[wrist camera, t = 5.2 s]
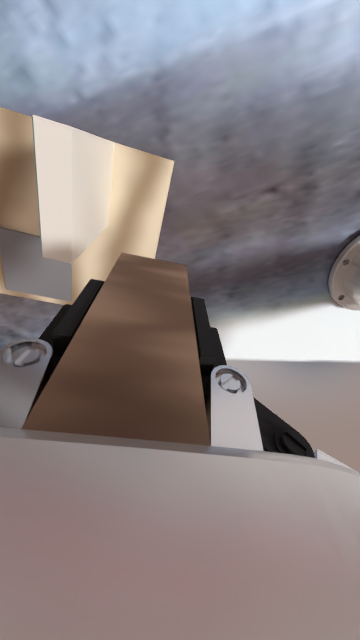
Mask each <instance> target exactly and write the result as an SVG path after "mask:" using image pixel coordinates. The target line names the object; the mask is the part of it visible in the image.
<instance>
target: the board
mask: <svg viewBox="0 0 360 640" xmlns="http://www.w3.org/2000/svg"><path fill="white" fill-rule="evenodd" d="M173 165H174V161H172V160H169V159H165V158H162V157H159V156H156V155H153V154H149V153H146V152H143V151H140V150H136V149H133V148H130V147H127V146H124V145H120V144H117V143H114V155H113V168H112V180H111V192H110V204H109V217H108V227H107V228H106V229H105V230H104V231H103V232H102V233H101V234H100V235H99V236H98V237H97V238H96V239H95V240H94V241H93V242H92V243H91V244H90V245H89V246H88V247H87V248H86V249H85V250H84V251H83V252H82V253H81V254H80V256H79V257H78V258H77V259H76V260H75V261H74V262H73V263H72V300H71V302H69V301H64V300H59V299H54V298H48V297H43V296H38V295H33V294H27V293H22V292H17V291H12V290H7V289H6V283H5V277H4V271H3V265H2V259H1V253H0V293H3V294H8V295H14V296H19V297H24V298H30V299H35V300H40V301H46V302H51V303H56V304H62V305H65V304H70V305H72V304H73V303H74V302H75V300H76V299H77V297H78V296H79V294H80V293H81V292H82V290H83V289H84V287H85V286H86V285H87V283H88V282H89V280H90V279H95V280H101V281H104V282H105V281H106V279H107V277H108V275H109V274H110V272H111V270H112V268H113V267H114V265H115V263H116V261H117V259H118V258H119V256H120V254H121V252H122V253H127V254H132V255H137V256H142V257H148V258H153V259H155V254H156V249H157V244H158V239H159V234H160V229H161V224H162V219H163V214H164V209H165V204H166V200H167V195H168V190H169V185H170V180H171V175H172V170H173ZM0 227H3V228H7V229H11V230H16V231H20V232H24V233H29V234H33V235H37V236H40V224H39V210H38V196H37V182H36V168H35V154H34V140H33V126H32V117H31V116H27V115H24V114H21V113H18V112H15V111H11V110H8V109H5V108H2V107H0Z"/></svg>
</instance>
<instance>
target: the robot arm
mask: <svg viewBox="0 0 360 640" xmlns="http://www.w3.org/2000/svg"><path fill="white" fill-rule="evenodd" d="M103 284H104V281H101V280H95V279H90V280H89V282H88V283H87V285H86V286H85V287H84V289H83V290H82V292H81V293H80V294H79V296H78V297H77V299H76V300H75V302H74V303H73V304H72V305H70V304H65V305H64V306H63V307H62V309H61V310H60V311H59V313H58V314H57V315H56V316H55V318H54V319H53V320H52V322H51V323H50V324H49V326H48V327H47V328H46V330H45V331H44V332H43V333H42V335H41V336H40V337H39V339H34V338H33V339H22V340H17V341H15V342H12V343H10V344H8V345H6V346H5V347H3V348H2V349H1V350H0V640H360V473H359V472H357V471H355V470H353V469H352V468H350V467H348V466H346V465H345V464H343V463H341V462H339V461H338V460H336V459H334V458H332V457H331V456H329V455H327V454H325V453H324V452H322V451H320V450H318V449H317V450H316V451H313V450H312V448H311V446H310V444H309V443H308V442H307V440H306V439H305V438H304V437H303V436H302V435H301V434H300V433H299V432H297V431H296V430H295V429H294V428H292V427H291V426H290V425H288V424H287V423H286V422H284V421H283V420H281V418H279V417H278V416H277V415H275V414H274V413H272V411H270V410H269V409H268V408H266V407H265V406H264V405H262V404H261V403H260V402H259V401H257V400H256V399H255V398H254V397H253V393H252V388H251V384H250V381H249V379H248V378H247V376H246V375H245V374H244V373H242V372H241V371H240V370H238V369H236V368H234V367H231V366H227V364H226V360H225V357H224V353H223V349H222V345H221V342H220V338H219V334H218V331H217V329H216V328H212V327H210V324H209V320H208V316H207V311H206V307H205V302H204V299H201V298H195V297H191V305H192V312H193V320H194V327H195V335H196V342H197V350H198V357H199V365H200V372H201V379H202V387H203V394H204V402H205V409H206V417H207V424H208V432H209V439H210V446H207V445H196V444H185V443H175V442H164V441H152V440H141V439H130V438H119V437H107V436H96V435H84V434H73V433H61V432H49V431H37V430H25V429H21V428H22V426H23V425H24V423H25V421H26V419H27V418H28V416H29V414H30V412H31V411H32V409H33V407H34V405H35V404H36V402H37V400H38V398H39V397H40V395H41V393H42V391H43V390H44V388H45V386H46V384H47V383H48V381H49V379H50V377H51V375H52V374H53V372H54V370H55V368H56V367H57V365H58V363H59V361H60V360H61V358H62V356H63V354H64V353H65V351H66V349H67V347H68V346H69V344H70V342H71V340H72V339H73V337H74V335H75V333H76V332H77V330H78V328H79V326H80V325H81V323H82V321H83V319H84V317H85V316H86V314H87V312H88V310H89V309H90V307H91V305H92V303H93V302H94V300H95V298H96V296H97V295H98V293H99V291H100V289H101V288H102V286H103ZM328 286H329V292H330V294H331V296H332V298H333V299H334V300H335V301H336V302H337V303H338V304H340V305H341V306H342V307H344V308H346V309H350V310H360V235H359V236H358V237H356V238H355V239H354V240H353V241H352V242H351V243H349V244H348V245H347V247H346V248H345V249H344V250H343V251H342V252H341V253H340V255H339V256H338V258H337V259H336V261H335V263H334V265H333V267H332V269H331V272H330V275H329V282H328Z"/></svg>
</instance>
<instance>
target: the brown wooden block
mask: <svg viewBox="0 0 360 640" xmlns="http://www.w3.org/2000/svg"><path fill="white" fill-rule="evenodd" d="M21 429H25V430H37V431H49V432H61V433H73V434H84V435H96V436H107V437H119V438H130V439H141V440H152V441H164V442H175V443H185V444H196V445H207V446H210V439H209V432H208V424H207V417H206V409H205V402H204V394H203V387H202V379H201V372H200V365H199V357H198V350H197V342H196V335H195V327H194V320H193V312H192V305H191V297H190V290H189V282H188V275H187V268H186V265H183V264H178V263H173V262H168V261H163V260H158V259H153V258H148V257H142V256H137V255H132V254H127V253H122V252H121V254H120V256H119V258H118V259H117V261H116V263H115V265H114V267H113V268H112V270H111V272H110V274H109V275H108V277H107V279H106V281H105V282H104V284H103V286H102V288H101V289H100V291H99V293H98V295H97V296H96V298H95V300H94V302H93V303H92V305H91V307H90V309H89V310H88V312H87V314H86V316H85V317H84V319H83V321H82V323H81V325H80V326H79V328H78V330H77V332H76V333H75V335H74V337H73V339H72V340H71V342H70V344H69V346H68V347H67V349H66V351H65V353H64V354H63V356H62V358H61V360H60V361H59V363H58V365H57V367H56V368H55V370H54V372H53V374H52V375H51V377H50V379H49V381H48V383H47V384H46V386H45V388H44V390H43V391H42V393H41V395H40V397H39V398H38V400H37V402H36V404H35V405H34V407H33V409H32V411H31V412H30V414H29V416H28V418H27V419H26V421H25V423H24V425H23V426H22V428H21Z"/></svg>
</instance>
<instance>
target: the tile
mask: <svg viewBox="0 0 360 640" xmlns="http://www.w3.org/2000/svg"><path fill="white" fill-rule="evenodd" d="M32 126H33V140H34V154H35V168H36V182H37V196H38V210H39V224H40V238H41V252H42V255H43V257H44V258H49V259H54V260H58V261H63V262H67V263H73V262H74V261H75V260H76V259H77V258H78V257H79V256H80V254H81V253H82V252H83V251H84V250H85V249H86V248H87V247H88V246H89V245H90V244H91V243H92V242H93V241H94V240H95V239H96V238H97V237H98V236H99V235H100V234H101V233H102V232H103V231H104V230H105V229H106V228H107V227H108V217H109V204H110V192H111V180H112V168H113V155H114V142H111V141H109V140H106V139H103V138H101V137H98V136H95V135H92V134H90V133H87V132H84V131H82V130H79V129H76V128H73V127H70V126H67V125H64V124H61V123H58V122H54V121H51V120H48V119H45V118H42V117H39V116H35V115H33V117H32Z"/></svg>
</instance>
